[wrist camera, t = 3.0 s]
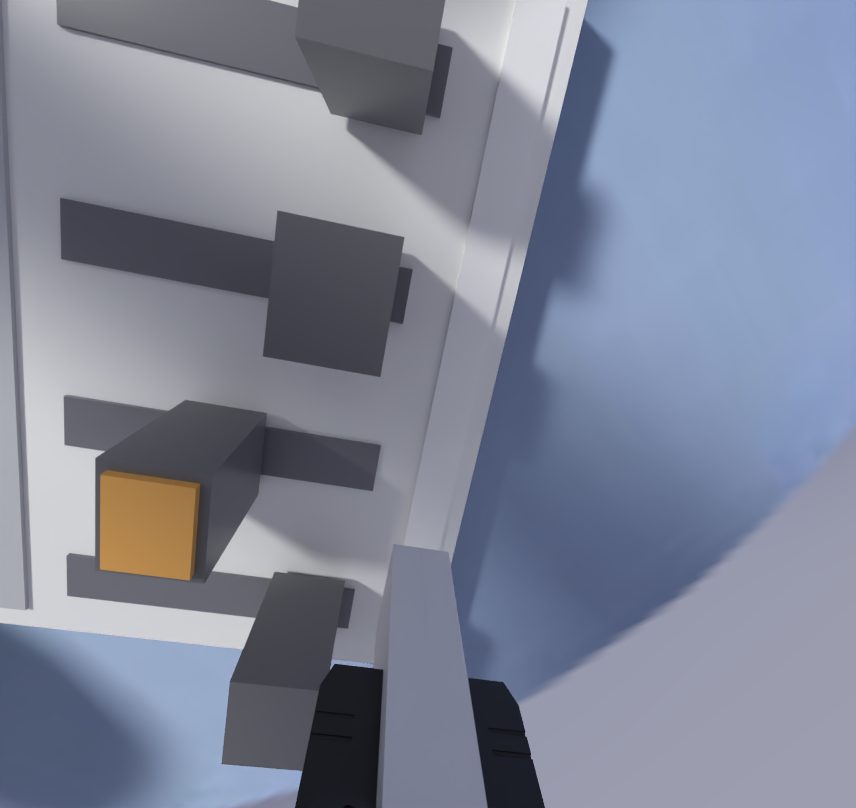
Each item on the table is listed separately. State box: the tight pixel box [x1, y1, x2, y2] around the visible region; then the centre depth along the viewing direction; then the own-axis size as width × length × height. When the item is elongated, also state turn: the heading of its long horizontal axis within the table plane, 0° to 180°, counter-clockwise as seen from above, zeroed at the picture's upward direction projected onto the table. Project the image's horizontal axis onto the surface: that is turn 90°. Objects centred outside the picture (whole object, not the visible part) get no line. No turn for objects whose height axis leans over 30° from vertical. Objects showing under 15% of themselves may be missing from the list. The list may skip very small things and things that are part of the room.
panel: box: [0, 0, 588, 664], centre depth 19 cm, size 20×28×2 cm
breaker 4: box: [222, 572, 345, 771], centre depth 18 cm, size 3×4×6 cm
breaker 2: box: [295, 0, 445, 135], centre depth 12 cm, size 3×4×6 cm
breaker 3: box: [263, 210, 404, 377], centre depth 14 cm, size 3×4×6 cm
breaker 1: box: [95, 400, 267, 584], centre depth 16 cm, size 3×4×6 cm
